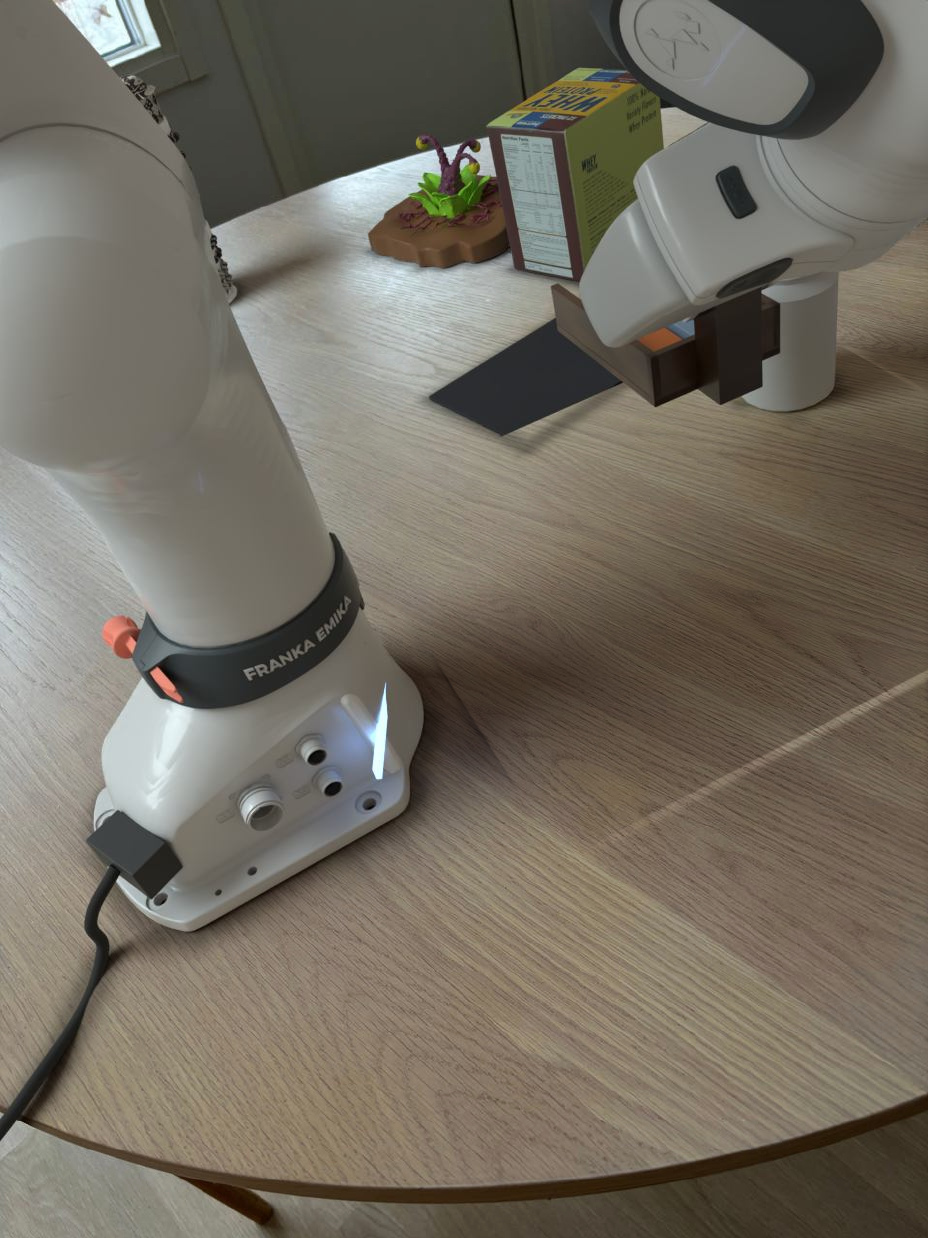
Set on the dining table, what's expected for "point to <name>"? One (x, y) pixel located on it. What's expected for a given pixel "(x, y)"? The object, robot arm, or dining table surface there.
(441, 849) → the dining table surface
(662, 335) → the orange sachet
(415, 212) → the plant
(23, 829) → the dining table surface
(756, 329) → the brown wooden stand
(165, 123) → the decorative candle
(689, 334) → the light blue flat block
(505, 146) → the protein box
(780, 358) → the can
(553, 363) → the mat
